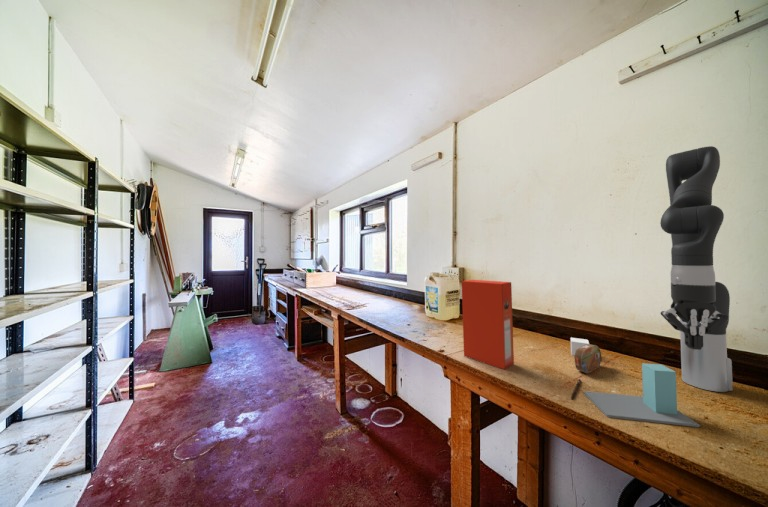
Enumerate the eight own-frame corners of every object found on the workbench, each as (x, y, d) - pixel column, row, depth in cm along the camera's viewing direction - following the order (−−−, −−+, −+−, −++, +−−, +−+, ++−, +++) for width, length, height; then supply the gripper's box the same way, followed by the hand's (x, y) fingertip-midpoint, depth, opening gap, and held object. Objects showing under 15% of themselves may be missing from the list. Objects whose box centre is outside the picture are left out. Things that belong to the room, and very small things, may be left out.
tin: (583, 376, 89) (582, 351, 89) (573, 372, 92) (572, 349, 92) (602, 366, 97) (601, 343, 97) (592, 363, 99) (591, 341, 99)
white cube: (589, 358, 104) (589, 343, 104) (571, 355, 107) (571, 341, 107) (588, 353, 109) (587, 339, 109) (570, 351, 112) (570, 337, 112)
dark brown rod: (572, 401, 75) (572, 397, 75) (571, 400, 75) (570, 397, 75) (580, 382, 85) (580, 379, 85) (578, 381, 86) (578, 378, 86)
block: (663, 404, 70) (661, 364, 70) (677, 414, 66) (675, 371, 66) (643, 402, 71) (641, 363, 72) (656, 412, 67) (654, 370, 67)
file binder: (503, 370, 95) (501, 283, 95) (463, 356, 108) (461, 280, 109) (513, 364, 100) (511, 282, 100) (474, 351, 113) (472, 279, 114)
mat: (659, 400, 74) (659, 398, 74) (699, 427, 62) (699, 424, 62) (583, 393, 78) (583, 391, 78) (607, 417, 67) (606, 414, 67)
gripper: (710, 281, 69) (711, 345, 69) (650, 280, 73) (652, 342, 72) (740, 284, 62) (742, 356, 62) (672, 283, 65) (674, 351, 65)
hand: (693, 348), depth 67 cm, fingers closed
